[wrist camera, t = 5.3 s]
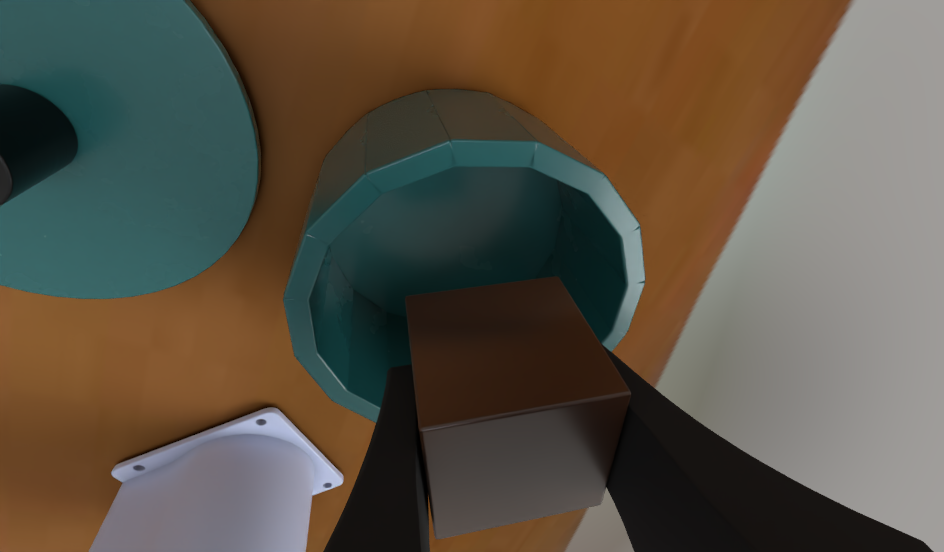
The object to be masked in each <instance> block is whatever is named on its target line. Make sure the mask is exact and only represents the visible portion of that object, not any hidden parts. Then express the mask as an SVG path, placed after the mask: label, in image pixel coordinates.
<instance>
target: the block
mask: <svg viewBox="0 0 944 552" xmlns="http://www.w3.org/2000/svg"><path fill="white" fill-rule="evenodd" d="M405 304H406V313H407V323H408V333H409V342H410V352H411V361H412V371H413V381H414V390H415V400H416V410H417V419H418V429H419V436H420V443H421V449H422V456H423V462H424V469H425V476H426V482H427V489H428V496H429V502H430V509H431V516H432V522H433V529H434V535H435V538H436V539H442V538H447V537H451V536H456V535H461V534H466V533H470V532H475V531H480V530H484V529H489V528H494V527H499V526H503V525H508V524H513V523H518V522H522V521H527V520H532V519H536V518H541V517H546V516H551V515H555V514H560V513H565V512H569V511H574V510H579V509H584V508H588V507H593V506H598V505H600V504H601V503H602V500H603V496H604V493H605V489H606V485H607V482H608V478H609V474H610V471H611V467H612V463H613V460H614V456H615V452H616V449H617V445H618V441H619V438H620V434H621V430H622V427H623V423H624V419H625V416H626V412H627V408H628V405H629V401H630V398H631V392H630V390H629V388H628V386H627V385H626V383H625V382H624V380H623V379H622V377H621V375H620V374H619V372H618V371H617V369H616V367H615V366H614V364H613V363H612V361H611V359H610V358H609V356H608V355H607V353H606V351H605V350H604V348H603V347H602V345H601V344H600V342H599V340H598V339H597V337H596V336H595V334H594V332H593V331H592V329H591V328H590V326H589V324H588V323H587V321H586V320H585V318H584V316H583V315H582V313H581V312H580V310H579V309H578V307H577V305H576V304H575V302H574V301H573V299H572V297H571V296H570V294H569V293H568V291H567V289H566V288H565V286H564V285H563V283H562V281H561V280H560V278H559V277H558V276H554V277H546V278H539V279H531V280H524V281H516V282H508V283H501V284H493V285H486V286H478V287H470V288H463V289H455V290H448V291H440V292H432V293H425V294H417V295H410V296H406V298H405Z"/></svg>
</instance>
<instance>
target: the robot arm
mask: <svg viewBox="0 0 944 552" xmlns="http://www.w3.org/2000/svg"><path fill="white" fill-rule="evenodd" d="M600 344H601V345H602V347H603V348H604V350H605V351H606V353H607V355H608V356H609V358H610V359H611V361H612V363H613V364H614V366H615V367H616V369H617V371H618V372H619V374H620V375H621V377H622V379H623V380H624V382H625V383H626V385H627V386H628V388H629V390H630V392H631V398H630V401H629V405H628V408H627V412H626V416H625V419H624V423H623V427H622V430H621V434H620V438H619V441H618V445H617V449H616V452H615V456H614V460H613V463H612V467H611V471H610V474H609V478H608V482H607V485H606V487H607V489H608V491H609V493H610V495H611V497H612V499H613V501H614V503H615V505H616V508H617V510H618V512H619V514H620V516H621V519H622V521H623V523H624V526H625V528H626V531H627V534H628V536H629V539H630V541H631V544H632V547H633V549H634V551H635V552H933V551H932V550H931V549H930V548H929V547H928V546H927V545H926V544H925V543H924V542H923V541H921V540H919V539H917V538H914V537H912V536H910V535H908V534H905V533H903V532H901V531H899V530H896V529H894V528H892V527H889V526H887V525H885V524H883V523H880V522H878V521H876V520H874V519H871V518H869V517H867V516H865V515H863V514H860V513H858V512H856V511H854V510H851V509H850V508H848V507H845V506H844V505H841V504H840V503H837V502H835V501H833V500H831V499H829V498H827V497H825V496H823V495H821V494H819V493H817V492H815V491H813V490H811V489H809V488H807V487H806V486H804V485H802V484H800V483H798V482H796V481H794V480H793V479H791V478H789V477H787V476H785V475H784V474H782V473H780V472H778V471H776V470H775V469H773V468H771V467H769V466H768V465H766V464H764V463H762V462H760V461H759V460H757V459H755V458H754V457H752V456H750V455H749V454H747V453H745V452H744V451H742V450H740V449H739V448H737V447H736V446H734V445H733V444H731V443H730V442H728V441H727V440H725V439H723V438H722V437H720V436H719V435H717V434H716V433H714V432H713V431H711V430H710V429H708V428H707V427H705V426H704V425H702V424H701V423H699V422H698V421H696V420H695V419H694V418H693V417H691V416H690V415H688V414H687V413H686V412H684V411H683V410H682V409H680V408H679V407H678V406H676V405H675V404H674V403H672V402H671V401H670V400H668V399H667V398H666V397H665V396H663V395H662V394H661V393H660V392H658V391H657V390H656V389H655V388H653V387H652V386H651V385H650V384H648V383H647V382H646V381H645V380H644V379H642V378H641V377H640V376H639V375H638V374H636V373H635V372H634V371H633V370H632V369H630V368H629V367H628V366H627V365H626V364H625V363H623V362H622V361H621V360H620V359H619V358H618V357H617V356H615V355H614V354H613V353H612V352H611V351H610V350H608V349H607V348H606V347H605V346H604V345H603V344H602V343H600ZM111 474H112V476H113V477H114V478H116V479H117V480H119V481H121V482H122V485H121V487H120V489H119V491H118V493H117V495H116V497H115V499H114V501H113V503H112V505H111V507H110V509H109V511H108V513H107V515H106V517H105V519H104V522H103V524H102V526H101V528H100V530H99V532H98V534H97V536H96V538H95V540H94V542H93V544H92V546H91V548H90V550H89V552H306V545H307V536H308V527H309V519H310V510H311V502H312V496H313V495H315V494H318V493H321V492H324V491H326V490H329V489H332V488H334V487H337V486H339V485H341V484H342V483H343V475H342V473H341V472H340V471H339V470H338V469H337V468H336V467H335V466H334V465H333V464H332V463H331V462H330V461H329V460H328V459H327V458H326V457H325V456H324V455H323V454H322V453H321V452H320V451H319V450H318V449H317V448H316V447H315V446H314V445H313V444H312V443H311V442H310V441H309V440H308V439H307V438H306V437H305V436H304V435H303V434H302V433H301V432H300V431H299V430H298V429H297V428H296V427H295V426H294V425H293V423H292V422H291V421H290V420H289V419H288V418H287V417H286V416H285V415H284V414H283V413H282V412H281V411H280V410H278V409H277V408H274V407H268V408H265V409H262V410H259V411H257V412H254V413H251V414H249V415H246V416H243V417H241V418H238V419H236V420H233V421H230V422H228V423H225V424H222V425H220V426H217V427H214V428H212V429H209V430H206V431H204V432H201V433H198V434H196V435H193V436H191V437H188V438H185V439H183V440H180V441H177V442H175V443H172V444H169V445H167V446H164V447H161V448H159V449H156V450H153V451H151V452H148V453H146V454H143V455H140V456H138V457H135V458H132V459H130V460H127V461H124V462H122V463H119V464H117V465H115V467H114V468H113V470H112V472H111ZM323 552H430V548H429V516H428V489H427V482H426V476H425V469H424V462H423V456H422V449H421V443H420V436H419V429H418V419H417V410H416V400H415V390H414V381H413V371H412V364H410V365H403V366H397V367H391V368H390V369H389V370H388V371H387V379H386V385H385V391H384V396H383V400H382V404H381V408H380V412H379V416H378V419H377V422H376V426H375V429H374V432H373V435H372V438H371V442H370V445H369V448H368V450H367V453H366V456H365V458H364V461H363V464H362V466H361V469H360V472H359V474H358V477H357V480H356V482H355V485H354V487H353V489H352V492H351V494H350V497H349V499H348V501H347V503H346V506H345V508H344V510H343V512H342V514H341V517H340V519H339V521H338V523H337V525H336V527H335V529H334V531H333V533H332V535H331V537H330V539H329V541H328V543H327V545H326V547H325V549H324V551H323Z"/></svg>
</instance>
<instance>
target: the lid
mask: <svg viewBox="0 0 944 552" xmlns="http://www.w3.org/2000/svg"><path fill="white" fill-rule="evenodd" d="M260 176H261V151H260V142H259V134H258V128H257V125H256V121H255V117H254V113H253V109H252V105H251V103H250V100H249V98H248V95H247V92H246V90H245V87H244V85H243V82H242V80H241V77H240V75H239V74H238V72H237V70H236V68H235V66H234V64H233V62H232V60H231V59H230V57H229V55H228V53H227V51H226V49H225V48H224V46H223V45H222V43H221V42H220V40H219V39H218V37H217V36H216V34H215V33H214V31H213V30H212V28H211V27H210V25H209V24H208V22H207V21H206V19H205V18H204V17H203V16H202V15H201V13H200V12H199V11H198V10H197V9H196V7H195V6H194V5H193V4H192V2H191V1H190V0H0V285H2V286H6V287H10V288H14V289H18V290H22V291H26V292H32V293H38V294H44V295H50V296H57V297H68V298H79V299H111V298H122V297H133V296H138V295H143V294H148V293H153V292H157V291H160V290H163V289H166V288H169V287H172V286H175V285H178V284H180V283H182V282H184V281H186V280H188V279H191V278H193V277H195V276H196V275H198V274H200V273H201V272H203V271H204V270H206V269H207V268H209V267H210V266H212V265H213V264H214V263H215V262H216V261H217V260H219V259H220V258H221V257H222V256H223V255H224V254H225V253H226V252H227V251H228V250H229V249H230V247H231V246H232V245H233V244H234V242H235V241H236V240H237V239H238V237H239V235H240V234H241V232H242V230H243V228H244V227H245V225H246V223H247V221H248V219H249V217H250V215H251V212H252V210H253V207H254V204H255V201H256V198H257V193H258V188H259V182H260Z"/></svg>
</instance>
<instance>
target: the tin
mask: <svg viewBox="0 0 944 552" xmlns="http://www.w3.org/2000/svg"><path fill="white" fill-rule="evenodd" d="M554 276H558V277H559V278H560V280H561V281H562V283H563V285H564V286H565V288H566V289H567V291H568V293H569V294H570V296H571V297H572V299H573V301H574V302H575V304H576V305H577V307H578V309H579V310H580V312H581V313H582V315H583V316H584V318H585V320H586V321H587V323H588V324H589V326H590V328H591V329H592V331H593V332H594V334H595V336H596V337H597V339H598V340H599V342H600V343H602V344H603V345H604V346H605V347H606V348H607V349H608V350H610V351H611V352H612V351H613V349H614V348H615V347H616V346H617V345H618V343H619V342H620V341H621V340H622V338H623V337H624V336H625V335H626V332H627V331H628V329H629V327H630V324H631V321H632V318H633V315H634V313H635V310H636V307H637V304H638V301H639V299H640V296H641V293H642V290H643V287H644V285H645V270H644V259H643V249H642V239H641V228H640V224H639V222H638V221H637V219H636V218H635V216H634V215H633V213H632V212H631V211H630V209H629V208H628V206H627V205H626V203H625V202H624V200H623V199H622V198H621V196H620V195H619V193H618V192H617V190H616V189H615V188H614V186H613V185H612V183H611V182H610V180H609V179H608V178H607V176H606V175H605V174H604V173H603V172H602V171H600V170H599V169H598V168H597V167H596V166H594V165H593V164H592V163H591V162H590V161H588V160H587V159H586V158H585V157H584V156H582V155H581V154H580V153H579V152H578V151H576V150H575V149H574V148H573V147H572V146H570V145H569V144H568V143H567V142H566V141H564V140H563V139H562V138H561V137H560V136H558V135H557V134H556V133H555V132H554V131H552V130H551V129H550V128H549V127H548V126H546V125H545V124H544V123H543V122H542V121H540V120H539V119H538V118H536V117H534V116H532V115H531V114H529V113H527V112H525V111H523V110H521V109H519V108H518V107H516V106H515V105H513V104H511V103H509V102H507V101H504V100H502V99H500V98H498V97H496V96H494V95H492V94H490V93H487V92H477V91H470V90H461V89H435V90H426V91H422V92H417V93H413V94H410V95H407V96H404V97H401V98H398V99H395V100H393V101H391V102H389V103H387V104H384V105H382V106H380V107H378V108H377V109H375V110H374V111H371V112H369V113H368V114H366V115H365V116H364V117H363V118H362V119H360V120H359V121H358V122H357V123H356V124H355V125H354V126H352V127H351V128H350V129H349V130H348V131H347V132H346V133H345V134H344V135H343V137H342V138H341V139H340V140H339V141H338V143H337V144H336V145H335V146H334V147H333V149H332V150H331V151H330V152H329V153H328V154H327V155H326V158H325V159H324V161H323V164H322V167H321V170H320V173H319V176H318V179H317V182H316V185H315V188H314V191H313V194H312V197H311V200H310V203H309V206H308V210H307V213H306V217H305V221H304V224H303V228H302V231H301V235H300V238H299V242H298V245H297V249H296V253H295V256H294V260H293V263H292V267H291V270H290V274H289V278H288V281H287V285H286V288H285V292H284V297H283V302H284V307H285V312H286V317H287V322H288V327H289V332H290V337H291V342H292V347H293V352H294V356H295V357H296V359H297V360H298V361H299V362H300V363H301V365H302V366H303V367H304V368H305V369H306V371H307V372H308V373H309V374H310V375H311V377H312V378H313V379H314V380H315V381H316V383H317V384H318V385H319V386H320V387H321V388H322V390H323V391H324V392H325V393H326V394H327V396H328V397H329V398H330V399H331V400H332V401H334V402H335V403H337V404H339V405H341V406H343V407H345V408H347V409H349V410H351V411H353V412H355V413H357V414H359V415H361V416H363V417H365V418H367V419H369V420H371V421H373V422H375V423H376V422H377V419H378V416H379V412H380V408H381V404H382V400H383V396H384V391H385V385H386V379H387V371H388V370H389V369H390V368H391V367H397V366H403V365H410V364H412V361H411V352H410V342H409V333H408V323H407V313H406V304H405V298H406V296H410V295H417V294H425V293H432V292H440V291H448V290H455V289H463V288H470V287H478V286H486V285H493V284H501V283H508V282H516V281H524V280H531V279H539V278H546V277H554Z"/></svg>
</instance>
